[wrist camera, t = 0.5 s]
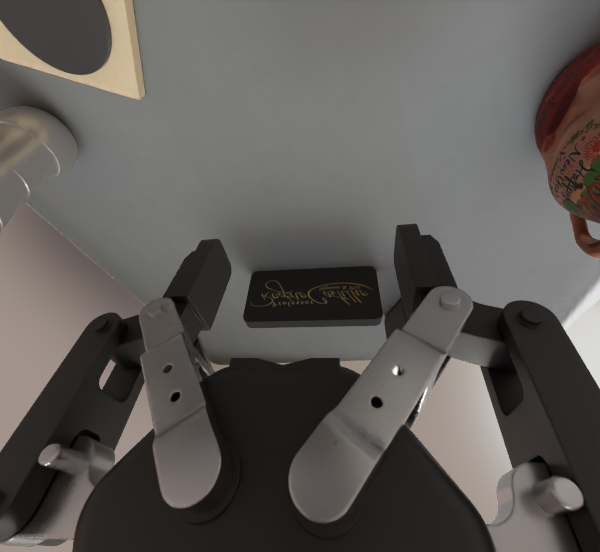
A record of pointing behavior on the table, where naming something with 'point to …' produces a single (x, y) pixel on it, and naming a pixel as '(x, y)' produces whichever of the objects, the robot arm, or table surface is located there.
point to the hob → (75, 41)
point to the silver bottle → (30, 155)
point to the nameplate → (314, 298)
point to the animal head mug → (574, 144)
